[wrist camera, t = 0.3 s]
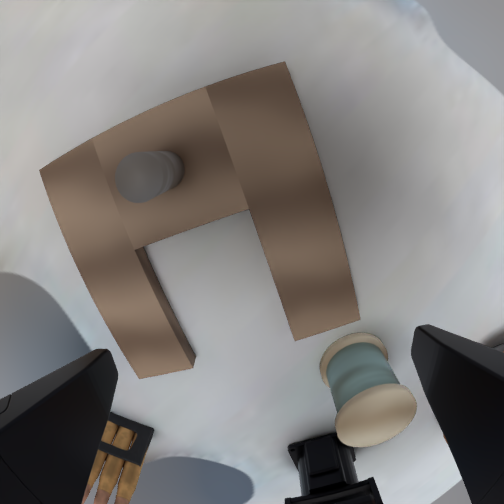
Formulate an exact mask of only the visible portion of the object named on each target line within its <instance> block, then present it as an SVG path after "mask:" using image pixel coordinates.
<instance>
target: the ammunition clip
mask: <svg viewBox="0 0 504 504" xmlns="http://www.w3.org/2000/svg"><path fill="white" fill-rule="evenodd" d="M153 433H154V429H153V428H151V427H148V426H145V425H143V424H140V423H137V422H134V421H132V420H129V419H127V418H124V417H122V416H119V415H117V414H114V413H112V412H110V414H109V418H108V421H107V425H106V427H105V430H104V433H103V436H102V439H101V442H100V445H99V448H98V451H97V454H96V458H95V461H94V464H93V467H92V470H91V473H90V477H89V480H88V483H87V487H86V490H85V494H84V497H83V501H82V504H83V503H84V502H85V500H86V499H87V497H88V495H89V493H90V490H91V488H92V487H93V484H94V482H95V481H96V479H97V478H98V476H99V474H100V471H101V469H102V466H103V464H104V461H106V462H105V464H104V467H103V469H102V472H101V475H100V479H99V485H98V489H97V493H96V496H95V500H94V504H107V502H108V500H109V497H110V495H111V493H112V490H113V488H114V487H115V485H116V484H117V481H118V478H119V475H120V472H121V469H122V467H123V470H122V473H121V476H120V479H119V482H118V491H117V495H116V500H115V503H114V504H129V502H130V499H131V496H132V494H133V493H134V491H135V489H136V485H137V482H138V479H139V475H140V472H141V468H142V465H143V462H144V459H145V455H146V452H147V450H148V447H149V444H150V442H151V439H152V436H153ZM115 434H116V436H115ZM114 437H115V438H114ZM113 439H114V441H113ZM131 441H132V443H131ZM112 442H113V443H112ZM111 444H112V445H111ZM130 444H131V446H130ZM129 447H130V449H129Z"/></svg>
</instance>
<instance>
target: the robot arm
mask: <svg viewBox="0 0 504 504" xmlns="http://www.w3.org/2000/svg"><path fill="white" fill-rule="evenodd" d="M411 356H412V359H413V362H414V365H415V367H416V370H417V373H418V376H419V378H420V381H421V384H422V387H423V390H424V392H425V395H426V397H427V400H428V402H429V404H430V406H431V408H432V410H433V412H434V414H435V417H436V419H437V421H438V423H439V425H440V427H441V430H442V432H443V434H444V436H445V439H446V441H447V443H448V445H449V448H450V450H451V452H452V455H453V457H454V459H455V462H456V464H457V467H458V469H459V471H460V474H461V476H462V479H463V481H464V484H465V487H466V489H467V492H468V494H469V497H470V500H471V503H472V504H504V352H501V351H498V350H496V349H493V348H490V347H488V346H485V345H482V344H480V343H477V342H474V341H472V340H469V339H466V338H464V337H461V336H458V335H456V334H453V333H450V332H448V331H445V330H442V329H440V328H437V327H434V326H432V325H429V324H427V325H422V326H418V327H416V329H415V332H414V337H413V342H412V348H411ZM117 381H118V371H117V368H116V365H115V362H114V360H113V357H112V354H111V352H110V351H109V350H108V349H95V350H93V351H91V352H90V353H88V354H86V355H84V356H82V357H80V358H78V359H76V360H75V361H73V362H71V363H69V364H67V365H65V366H63V367H61V368H59V369H57V370H56V371H54V372H52V373H50V374H48V375H46V376H44V377H42V378H40V379H38V380H37V381H35V382H33V383H31V384H29V385H27V386H25V387H23V388H21V389H19V390H17V391H16V392H14V393H12V395H8V396H6V397H4V398H2V399H0V504H82V501H83V497H84V494H85V490H86V487H87V483H88V480H89V477H90V473H91V470H92V467H93V464H94V461H95V458H96V454H97V451H98V448H99V445H100V442H101V439H102V436H103V433H104V430H105V427H106V425H107V421H108V418H109V414H110V410H111V406H112V402H113V397H114V393H115V389H116V385H117ZM288 452H289V454H290V456H291V458H292V460H293V462H294V464H295V465H296V467H297V469H298V471H299V477H300V485H301V494H302V496H300V497H295V498H291V497H290V498H285V504H383V502H382V499H381V496H380V494H379V491H378V488H377V485H376V483H375V480H374V477H371V478H368V479H367V480H364V481H361V482H359V481H358V478H357V474H356V470H355V467H354V463H353V462H354V461H355V460H356V458H355V454H354V449H353V447H352V446H348V445H346V444H344V443H342V442H341V441H340V439H339V438H338V436H337V433H333V434H330V435H327V436H323V437H320V438H316V439H312V440H308V441H305V442H301V443H297V444H292V445H289V446H288Z"/></svg>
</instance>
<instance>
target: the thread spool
mask: <svg viewBox="0 0 504 504" xmlns="http://www.w3.org/2000/svg"><path fill="white" fill-rule="evenodd" d="M320 372H321V376H322V379H323V381H324V383H325V384H326V385H327V386H328V387H329V388H330V389H331V393H332V396H333V400H334V403H335V407H336V410H337V416H336V419H335V428H336V432H337V436H338V438H339V439H340V441H341V442H342V443H344V444H346V445H348V446H352V447H369V446H374V445H377V444H380V443H383V442H385V441H387V440H389V439H391V438H393V437H395V436H396V435H398V434H399V433H400V432H401V431H403V430H404V429H405V428H406V427H407V426H408V425H409V423H410V422H411V421H412V419H413V418H414V415H415V413H416V409H417V403H416V400H415V398H414V397H413V395H412V393H411V391H410V390H409V389H408V388H407V387H405V386H403V385H400V383H399V381H398V380H397V378H396V376H395V374H394V372H393V371H392V369H391V367H390V365H389V363H388V354H387V351H386V348H385V347H384V345H383V343H382V342H381V341H380V339H379V338H377V337H376V336H374V335H372V334H368V333H354V334H350V335H347V336H344V337H342V338H340V339H338V340H337V341H335V342H334V343H333V344H331V345H330V346H329V347H328V348H327V350H326V351H325V352H324V354H323V356H322V358H321V361H320Z"/></svg>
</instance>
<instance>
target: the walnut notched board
mask: <svg viewBox="0 0 504 504" xmlns="http://www.w3.org/2000/svg"><path fill="white" fill-rule="evenodd" d="M39 171H40V174H41V177H42V180H43V183H44V186H45V189H46V192H47V195H48V197H49V200H50V203H51V206H52V208H53V211H54V214H55V216H56V219H57V221H58V224H59V226H60V229H61V231H62V234H63V236H64V238H65V241H66V243H67V245H68V248H69V250H70V252H71V255H72V257H73V259H74V261H75V263H76V266H77V268H78V270H79V272H80V274H81V276H82V278H83V280H84V282H85V285H86V287H87V289H88V291H89V293H90V295H91V297H92V298H93V300H94V302H95V304H96V306H97V308H98V310H99V312H100V314H101V316H102V317H103V319H104V321H105V323H106V325H107V326H108V328H109V330H110V332H111V334H112V335H113V337H114V339H115V340H116V342H117V344H118V346H119V347H120V349H121V351H122V352H123V354H124V356H125V357H126V359H127V360H128V362H129V364H130V365H131V367H132V368H133V370H134V372H135V373H136V375H137V376H138V378H139V379H142V378H147V377H152V376H158V375H163V374H168V373H172V372H177V371H182V370H186V369H191V368H193V366H194V362H195V358H196V356H195V354H194V352H193V350H192V349H191V347H190V345H189V343H188V341H187V339H186V337H185V335H184V333H183V331H182V329H181V327H180V325H179V323H178V321H177V319H176V317H175V315H174V313H173V311H172V309H171V307H170V305H169V303H168V301H167V299H166V297H165V294H164V292H163V290H162V288H161V286H160V284H159V282H158V279H157V277H156V275H155V273H154V271H153V268H152V266H151V264H150V262H149V259H148V257H147V255H146V253H145V250H144V248H143V246H146V245H149V244H151V243H154V242H157V241H160V240H162V239H165V238H168V237H170V236H173V235H176V234H179V233H181V232H184V231H187V230H190V229H193V228H195V227H198V226H201V225H204V224H207V223H210V222H212V221H215V220H218V219H221V218H224V217H227V216H230V215H233V214H235V213H238V212H241V211H244V210H247V209H249V210H250V213H251V216H252V219H253V221H254V224H255V227H256V230H257V233H258V236H259V239H260V241H261V244H262V247H263V250H264V253H265V256H266V259H267V262H268V264H269V267H270V270H271V273H272V276H273V279H274V282H275V285H276V288H277V290H278V293H279V296H280V299H281V302H282V305H283V308H284V311H285V314H286V317H287V320H288V323H289V326H290V328H291V331H292V334H293V337H294V340H295V341H297V340H300V339H303V338H307V337H310V336H313V335H316V334H319V333H322V332H325V331H328V330H331V329H334V328H337V327H340V326H343V325H346V324H349V323H352V322H355V321H358V320H360V314H359V309H358V305H357V300H356V295H355V291H354V286H353V282H352V277H351V273H350V269H349V264H348V260H347V256H346V252H345V248H344V244H343V240H342V236H341V232H340V229H339V225H338V221H337V217H336V214H335V210H334V207H333V203H332V199H331V196H330V192H329V189H328V186H327V182H326V179H325V176H324V172H323V169H322V166H321V163H320V159H319V156H318V153H317V150H316V147H315V144H314V141H313V138H312V135H311V132H310V129H309V126H308V123H307V120H306V117H305V114H304V111H303V108H302V106H301V103H300V100H299V97H298V95H297V92H296V89H295V87H294V84H293V81H292V79H291V76H290V73H289V71H288V68H287V66H286V63H285V62H281V63H277V64H274V65H270V66H267V67H263V68H260V69H256V70H253V71H250V72H247V73H243V74H240V75H237V76H234V77H231V78H228V79H225V80H222V81H220V82H217V83H214V84H211V85H208V86H206V87H203V88H200V89H198V90H195V91H193V92H190V93H187V94H185V95H182V96H180V97H178V98H175V99H173V100H170V101H168V102H166V103H163V104H161V105H159V106H156V107H154V108H152V109H150V110H148V111H145V112H143V113H141V114H139V115H137V116H135V117H133V118H131V119H128V120H126V121H124V122H122V123H120V124H118V125H116V126H114V127H113V128H111V129H109V130H107V131H105V132H103V133H101V134H99V135H97V136H96V137H94V138H92V139H90V140H88V141H86V142H85V143H83V144H81V145H79V146H78V147H76V148H74V149H73V150H71V151H69V152H67V153H66V154H64V155H62V156H61V157H59V158H58V159H56V160H54V161H53V162H51V163H50V164H48V165H46V166H45V167H43V168H42V169H40V170H39Z"/></svg>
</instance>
